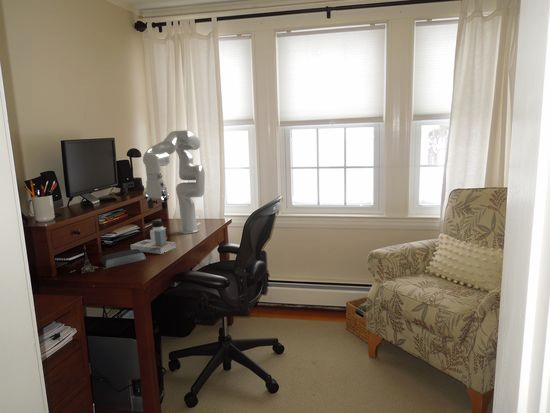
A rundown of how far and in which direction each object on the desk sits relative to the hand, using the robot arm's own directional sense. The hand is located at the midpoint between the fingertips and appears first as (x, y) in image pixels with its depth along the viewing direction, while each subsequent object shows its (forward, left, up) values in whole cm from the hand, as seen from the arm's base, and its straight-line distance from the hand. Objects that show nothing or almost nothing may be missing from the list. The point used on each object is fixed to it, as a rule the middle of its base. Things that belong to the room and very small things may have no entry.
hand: (157, 208), depth 216 cm
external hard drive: (+22, -5, -23) cm, 33 cm away
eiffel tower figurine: (+39, -10, -24) cm, 46 cm away
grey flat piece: (+1, -5, -23) cm, 23 cm away
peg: (+1, +1, -23) cm, 23 cm away
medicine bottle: (-14, -15, -23) cm, 31 cm away
